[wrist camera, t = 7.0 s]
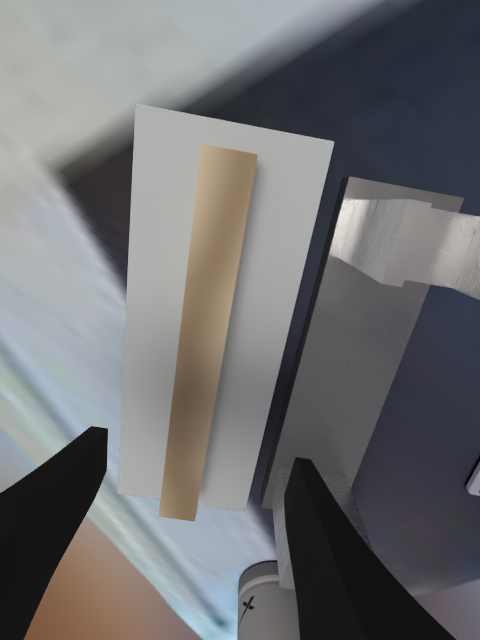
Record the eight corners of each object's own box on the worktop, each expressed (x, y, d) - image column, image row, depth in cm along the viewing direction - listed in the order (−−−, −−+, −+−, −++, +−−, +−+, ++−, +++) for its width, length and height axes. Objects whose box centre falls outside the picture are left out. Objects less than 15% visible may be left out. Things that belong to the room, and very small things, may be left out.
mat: (331, 143, 17) (334, 141, 16) (244, 505, 26) (244, 511, 25) (139, 106, 16) (135, 103, 16) (119, 487, 25) (117, 493, 25)
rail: (255, 160, 16) (257, 154, 14) (199, 490, 24) (194, 521, 22) (208, 151, 16) (201, 143, 14) (167, 485, 24) (158, 516, 22)
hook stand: (450, 198, 17) (573, 196, 11) (335, 504, 25) (366, 610, 19) (342, 178, 17) (403, 164, 11) (260, 493, 25) (265, 597, 19)
